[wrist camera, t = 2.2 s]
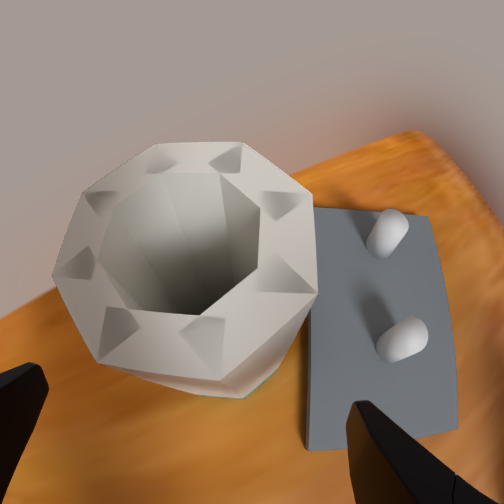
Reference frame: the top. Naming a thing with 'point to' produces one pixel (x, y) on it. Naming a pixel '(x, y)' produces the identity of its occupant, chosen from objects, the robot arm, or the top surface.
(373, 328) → the pin plate
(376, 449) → the robot arm
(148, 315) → the vase
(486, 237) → the top surface
